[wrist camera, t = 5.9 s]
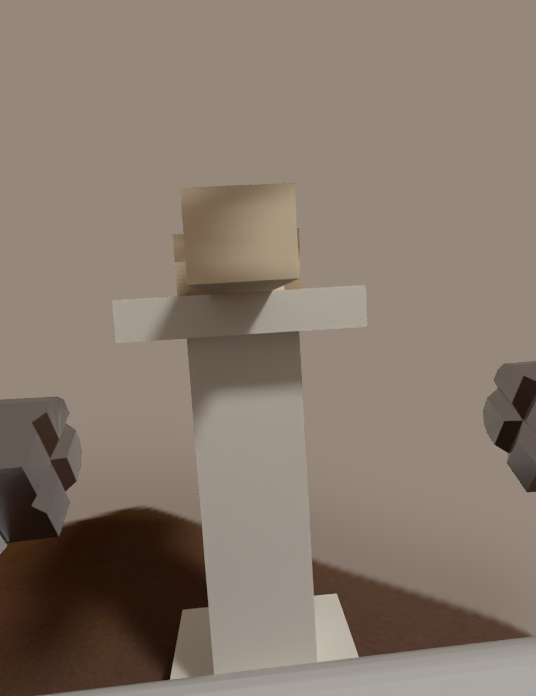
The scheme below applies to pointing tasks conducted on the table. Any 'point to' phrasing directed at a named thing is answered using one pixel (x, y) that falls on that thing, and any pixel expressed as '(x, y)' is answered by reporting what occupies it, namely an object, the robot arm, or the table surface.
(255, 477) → the pedestal shelf
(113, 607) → the table surface
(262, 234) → the scoop
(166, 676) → the table surface
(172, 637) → the table surface
